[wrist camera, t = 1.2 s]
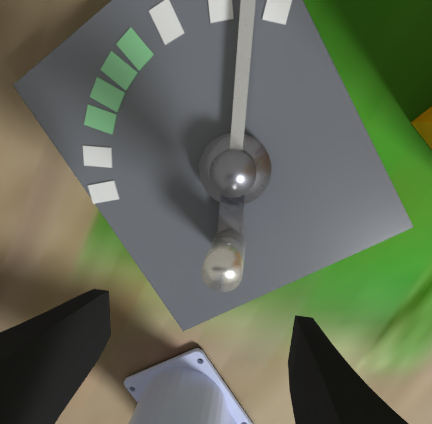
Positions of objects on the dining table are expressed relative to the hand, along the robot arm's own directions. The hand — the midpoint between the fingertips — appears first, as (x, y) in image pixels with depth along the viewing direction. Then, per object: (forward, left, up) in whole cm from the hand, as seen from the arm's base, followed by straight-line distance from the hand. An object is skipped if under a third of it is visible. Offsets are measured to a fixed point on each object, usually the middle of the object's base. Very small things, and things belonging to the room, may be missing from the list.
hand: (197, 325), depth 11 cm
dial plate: (+5, -2, -10) cm, 12 cm away
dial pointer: (+5, -4, -8) cm, 10 cm away
